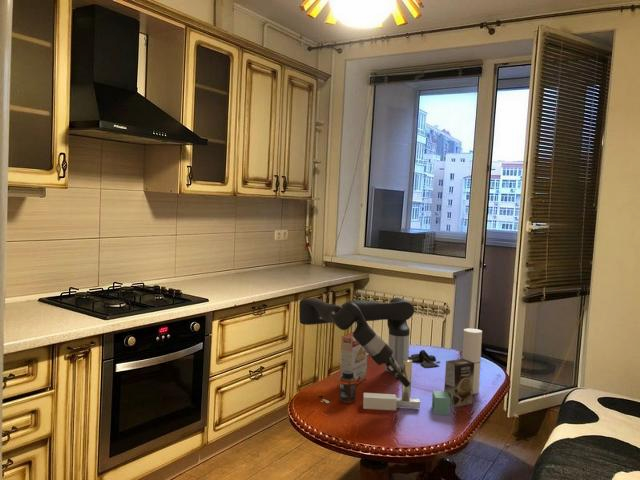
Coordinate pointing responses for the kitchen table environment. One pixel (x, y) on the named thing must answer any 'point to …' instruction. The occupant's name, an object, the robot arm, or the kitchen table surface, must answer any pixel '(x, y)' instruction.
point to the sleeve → (379, 401)
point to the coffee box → (459, 381)
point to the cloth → (424, 359)
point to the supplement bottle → (347, 387)
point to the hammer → (407, 388)
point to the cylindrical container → (473, 353)
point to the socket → (441, 402)
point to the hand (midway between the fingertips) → (407, 381)
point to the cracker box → (353, 358)
